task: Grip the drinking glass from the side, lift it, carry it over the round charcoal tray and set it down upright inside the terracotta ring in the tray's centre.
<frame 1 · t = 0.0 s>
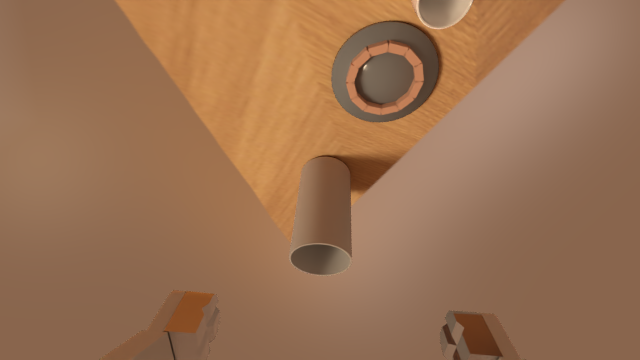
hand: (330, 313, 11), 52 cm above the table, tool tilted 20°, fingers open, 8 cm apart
cylinder vase: (325, 172, 79), on the table
round tray: (383, 76, 59), on the table
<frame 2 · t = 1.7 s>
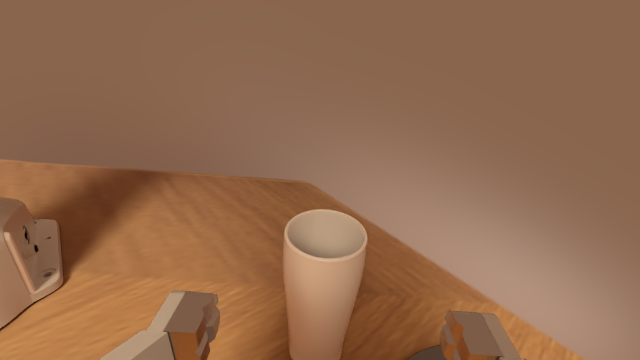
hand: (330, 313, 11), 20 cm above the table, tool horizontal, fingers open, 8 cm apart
drinking glass: (314, 351, 31), on the table
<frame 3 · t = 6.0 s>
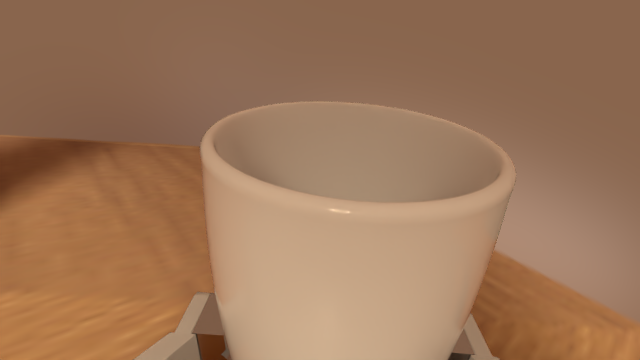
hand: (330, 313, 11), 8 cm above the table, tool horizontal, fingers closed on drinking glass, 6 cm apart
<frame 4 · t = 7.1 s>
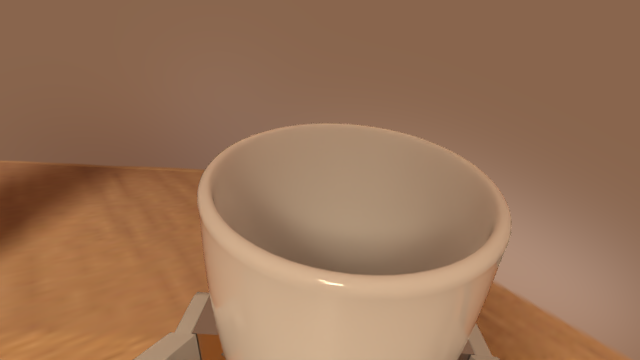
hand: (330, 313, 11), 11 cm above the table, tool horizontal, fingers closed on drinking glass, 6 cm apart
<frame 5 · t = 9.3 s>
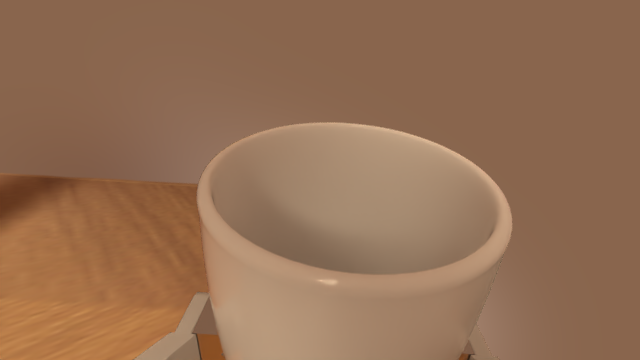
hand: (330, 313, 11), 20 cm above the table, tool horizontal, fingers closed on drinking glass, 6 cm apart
when the fingers open (10 cm above the table, at t = 11.6 s): drinking glass stays where it is, resting on round tray.
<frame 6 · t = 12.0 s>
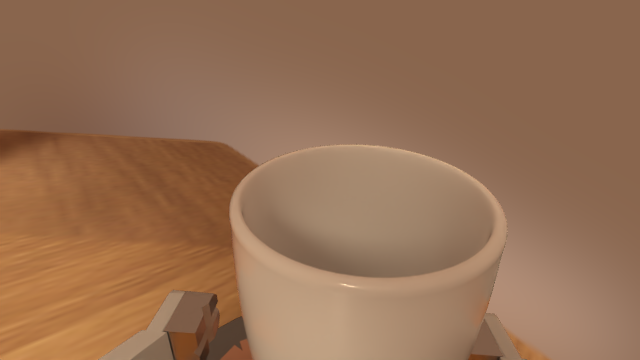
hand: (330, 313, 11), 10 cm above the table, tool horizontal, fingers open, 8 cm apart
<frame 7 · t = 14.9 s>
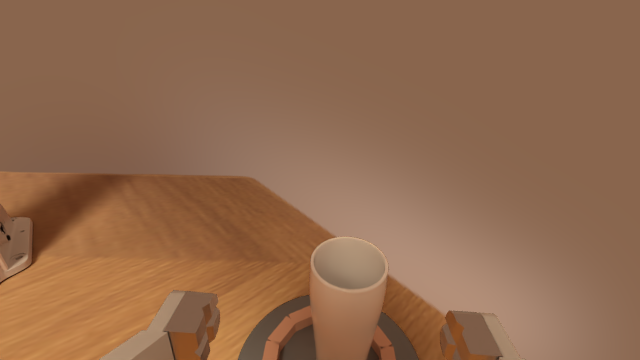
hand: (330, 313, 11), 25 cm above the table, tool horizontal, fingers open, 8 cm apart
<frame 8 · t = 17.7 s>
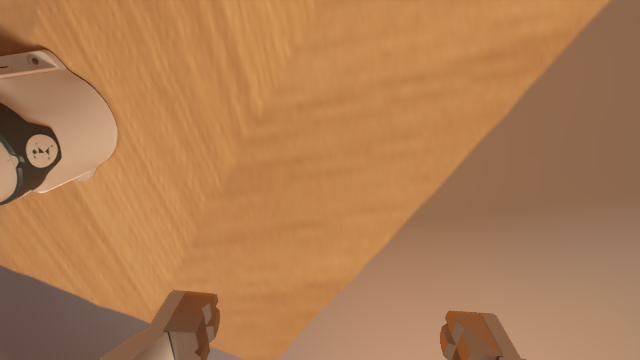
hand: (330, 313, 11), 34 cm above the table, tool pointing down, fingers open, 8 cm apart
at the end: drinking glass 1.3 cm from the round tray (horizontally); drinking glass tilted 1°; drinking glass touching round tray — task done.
